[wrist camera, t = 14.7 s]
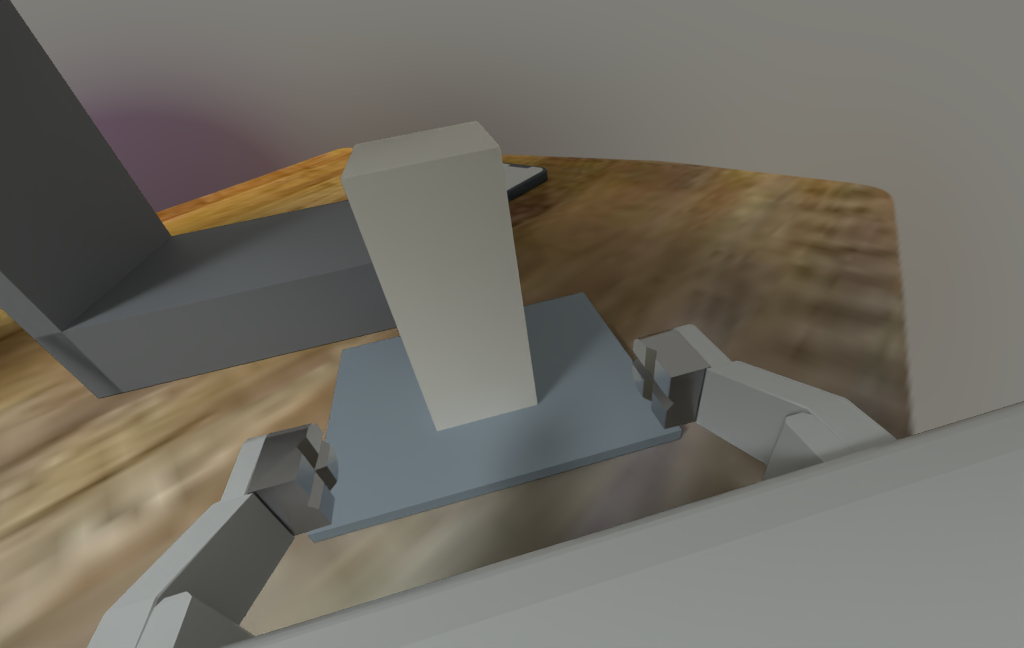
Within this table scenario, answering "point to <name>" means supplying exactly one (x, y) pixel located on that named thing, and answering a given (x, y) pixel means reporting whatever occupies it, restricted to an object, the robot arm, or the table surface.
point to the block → (447, 266)
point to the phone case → (522, 178)
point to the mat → (482, 422)
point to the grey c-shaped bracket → (153, 254)
